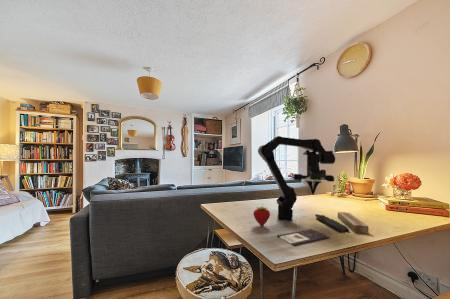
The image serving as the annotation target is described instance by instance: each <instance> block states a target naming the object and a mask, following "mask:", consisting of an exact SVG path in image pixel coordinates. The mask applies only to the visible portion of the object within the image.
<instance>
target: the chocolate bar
mask: <svg viewBox="0 0 450 299" xmlns="http://www.w3.org/2000/svg"><path fill="white" fill-rule="evenodd" d="M276 237H277V238H279V239H280V238H281V240H282V241H283V242H286V243H288V244H289V245H291V246H293V247H296V246H300V245H304V244H309V243H314V242H320V241H324V240H329V239H330V236H328V235H326V234H324V233H321V232H318V231H317V230H315V229H313V228H310V229H305V230H304V229H303V230H298V231H294V232H287V233H283V234H276Z"/></svg>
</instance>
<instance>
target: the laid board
mask: <svg viewBox="0 0 450 299" xmlns="http://www.w3.org/2000/svg"><path fill="white" fill-rule="evenodd" d="M337 218H338V220H340V222H341V223H342V224H343V225H344V226H346V227H347V228H348V229H349V230H351V231H352V232H353V233H359V234H369V225H368V224H366V223H365V222H364V221H362V220H360V219H359V218H358V217H356V216H355V215H353V214H352V213H350V212H345V211H344V212H342V211H341V212H340V211H338V212H337Z"/></svg>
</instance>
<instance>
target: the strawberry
mask: <svg viewBox="0 0 450 299" xmlns="http://www.w3.org/2000/svg"><path fill="white" fill-rule="evenodd" d="M261 205H262V206H260V207H256V208H255V210H253V218H254V219H255V221H256V223H257V224H258V225H259V226H260V227H264V225H265V224H266V223H267V222H268V221H269V219H270V215H271V213H270V211H269V210H268V207H264V205H263V203H261Z"/></svg>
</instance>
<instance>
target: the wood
mask: <svg viewBox="0 0 450 299" xmlns="http://www.w3.org/2000/svg"><path fill="white" fill-rule="evenodd" d="M314 215H315V217H316V218H317V219H318V220H319V221H320V222H321V223H323V224H324V225H327V226H328V227H329V228H330V229H332V230H335V231H336V232H338V233H339V234H346V233H348V234H351V232H350V228H348V227H347V226H346V225H345V224H343V223H340V222H339V221H336V220H334V219H332V218H329V216H325V215H323V214H314Z"/></svg>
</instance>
